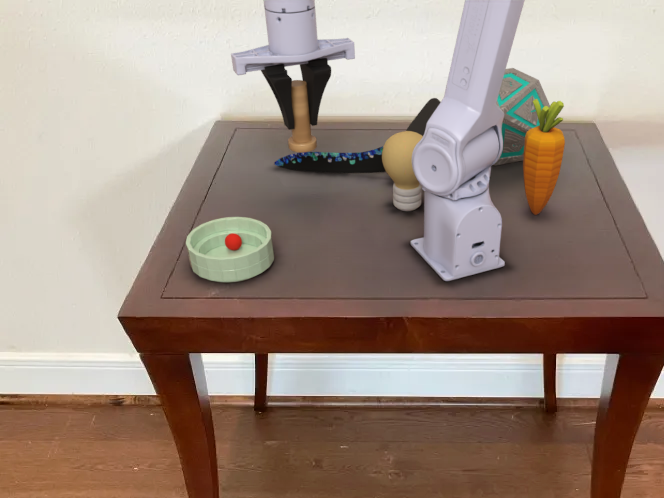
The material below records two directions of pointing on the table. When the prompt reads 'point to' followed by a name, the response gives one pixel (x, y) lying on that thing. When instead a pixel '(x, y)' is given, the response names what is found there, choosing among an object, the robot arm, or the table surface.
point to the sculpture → (518, 112)
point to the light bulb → (402, 169)
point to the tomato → (233, 241)
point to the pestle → (301, 119)
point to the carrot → (543, 156)
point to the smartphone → (423, 117)
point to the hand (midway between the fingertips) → (301, 124)
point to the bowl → (222, 262)
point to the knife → (334, 162)
